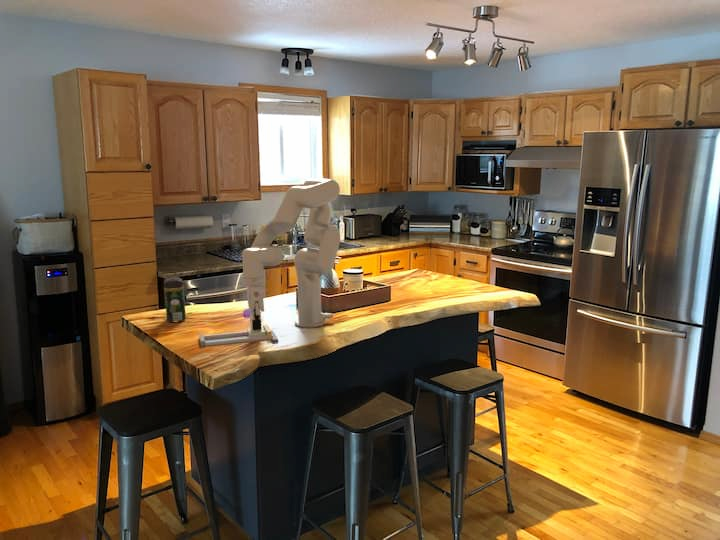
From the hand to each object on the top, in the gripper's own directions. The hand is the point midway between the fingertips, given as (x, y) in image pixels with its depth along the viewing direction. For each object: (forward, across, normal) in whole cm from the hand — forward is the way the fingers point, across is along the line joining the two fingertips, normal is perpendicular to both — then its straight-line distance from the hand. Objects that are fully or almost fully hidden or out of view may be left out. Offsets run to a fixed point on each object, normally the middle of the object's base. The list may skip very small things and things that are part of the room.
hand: (256, 327), depth 224 cm
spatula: (+6, +28, -2) cm, 29 cm away
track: (+5, 0, +7) cm, 8 cm away
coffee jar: (+5, +40, +29) cm, 50 cm away
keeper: (+4, 0, 0) cm, 4 cm away
